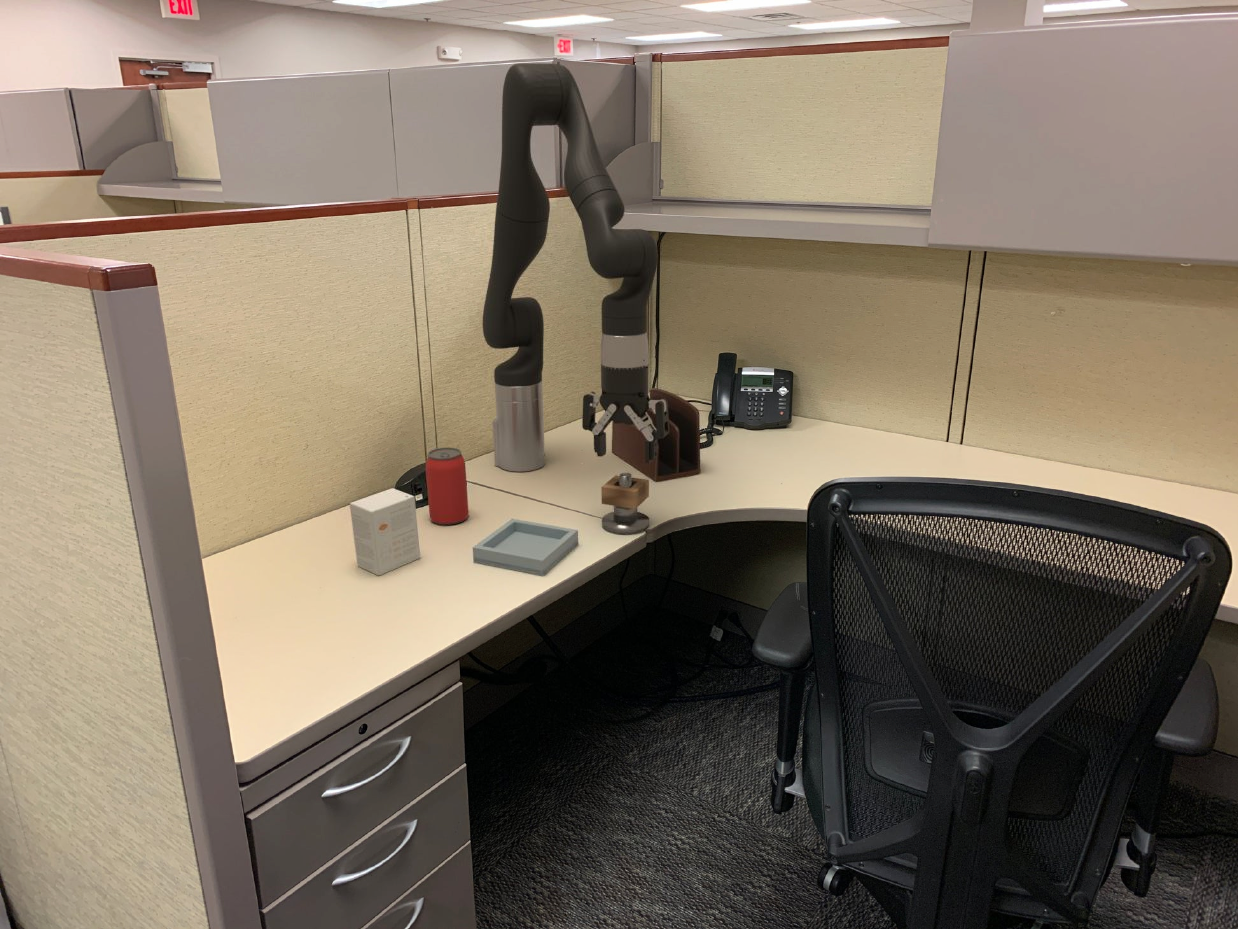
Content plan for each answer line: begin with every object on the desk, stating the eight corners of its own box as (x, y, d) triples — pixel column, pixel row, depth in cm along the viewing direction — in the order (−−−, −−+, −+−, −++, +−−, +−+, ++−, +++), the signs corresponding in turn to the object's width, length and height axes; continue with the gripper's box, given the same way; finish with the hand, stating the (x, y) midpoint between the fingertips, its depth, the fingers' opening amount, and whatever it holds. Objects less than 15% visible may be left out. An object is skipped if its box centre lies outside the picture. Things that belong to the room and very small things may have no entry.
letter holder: (653, 446, 186) (653, 382, 181) (700, 475, 169) (702, 405, 165) (610, 453, 182) (610, 387, 177) (655, 483, 165) (656, 411, 161)
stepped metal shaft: (593, 530, 144) (593, 479, 141) (613, 512, 151) (612, 464, 148) (638, 537, 141) (638, 486, 138) (656, 519, 148) (656, 470, 145)
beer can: (431, 528, 145) (425, 460, 141) (428, 513, 151) (423, 448, 147) (471, 523, 147) (466, 456, 143) (466, 509, 153) (462, 444, 149)
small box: (399, 549, 138) (392, 487, 134) (421, 558, 135) (415, 495, 131) (355, 566, 132) (348, 502, 129) (378, 577, 129) (371, 511, 125)
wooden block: (601, 503, 143) (601, 486, 142) (616, 491, 148) (615, 475, 147) (635, 509, 141) (635, 492, 140) (648, 496, 146) (648, 479, 145)
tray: (473, 562, 133) (472, 547, 132) (512, 532, 144) (512, 518, 143) (543, 575, 129) (542, 560, 128) (578, 544, 139) (577, 530, 138)
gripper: (573, 362, 136) (576, 460, 141) (658, 369, 131) (658, 470, 136) (593, 353, 143) (595, 447, 148) (675, 359, 137) (674, 456, 143)
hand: (625, 458), depth 142 cm, fingers open, 8 cm apart
